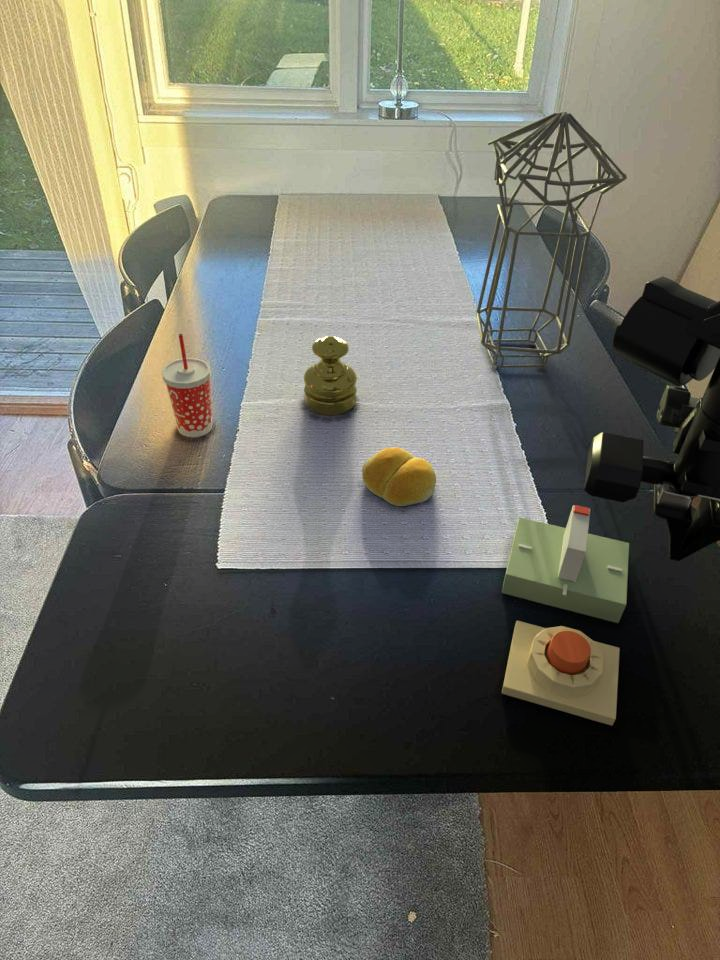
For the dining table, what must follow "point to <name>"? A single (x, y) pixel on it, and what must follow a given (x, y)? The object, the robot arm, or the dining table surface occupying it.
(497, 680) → the dining table surface
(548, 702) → the button box
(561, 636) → the button
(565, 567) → the white switch lever
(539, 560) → the panel
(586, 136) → the geometric lantern
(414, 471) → the bread roll
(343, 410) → the gold tiered piece
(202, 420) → the beverage cup
